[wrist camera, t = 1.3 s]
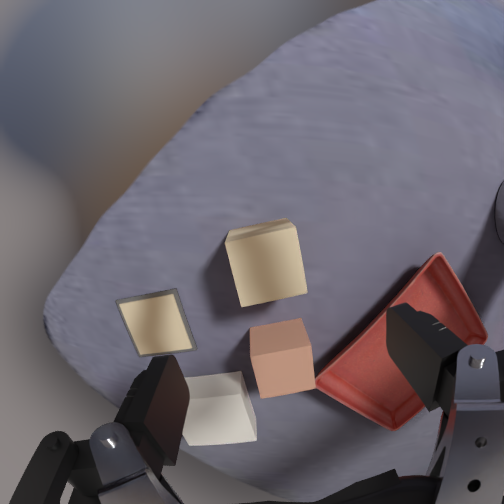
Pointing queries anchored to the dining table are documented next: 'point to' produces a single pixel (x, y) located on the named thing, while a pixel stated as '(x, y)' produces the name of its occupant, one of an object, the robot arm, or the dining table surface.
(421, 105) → the dining table surface
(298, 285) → the maple cube
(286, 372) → the terracotta cube
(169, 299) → the tile
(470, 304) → the plant saucer
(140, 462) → the robot arm
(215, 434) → the base slab
